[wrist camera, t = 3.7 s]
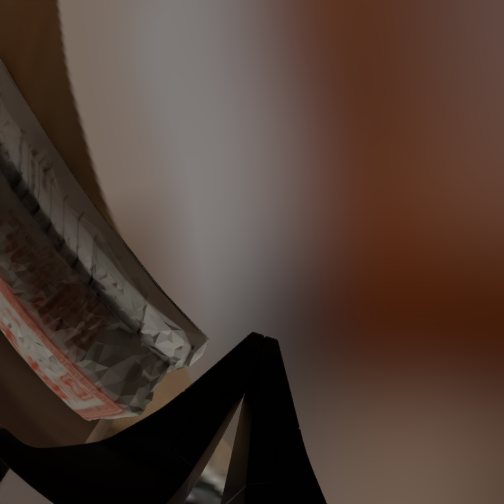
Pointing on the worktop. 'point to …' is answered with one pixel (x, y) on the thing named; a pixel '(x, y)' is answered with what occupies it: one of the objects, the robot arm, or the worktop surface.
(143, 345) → the packaged product
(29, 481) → the robot arm
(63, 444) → the brown piece
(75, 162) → the worktop surface
